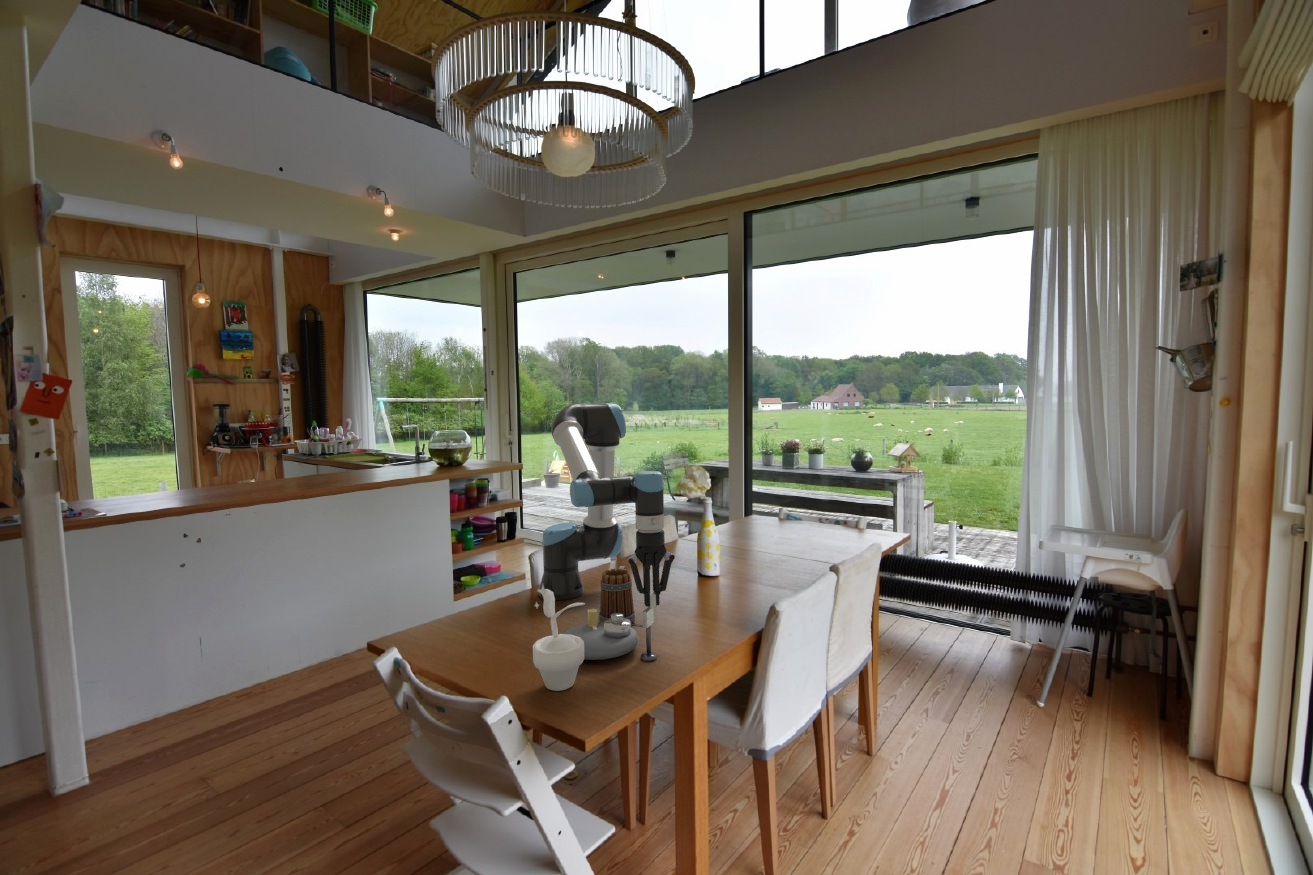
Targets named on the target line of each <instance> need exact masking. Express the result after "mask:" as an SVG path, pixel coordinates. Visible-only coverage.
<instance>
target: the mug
mask: <svg viewBox="0 0 1313 875" xmlns="http://www.w3.org/2000/svg"><path fill="white" fill-rule="evenodd" d="M632 587H633V581H632V578H631V572H630V570H628V569H627V566H626V565H620V566H619V568H610V569H606V570H605V571H602V574H601V580H600V602H599V603H600V604H599V605H600V606H599V612H598V622H605V621H606V620H608V619H611V614H613V613H622V614H623V618H626V619H628V620H630V622H631V624H635V619H636V613H635V610H634V600H633V589H632Z"/></svg>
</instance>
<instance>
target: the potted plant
mask: <svg viewBox="0 0 1313 875" xmlns="http://www.w3.org/2000/svg"><path fill="white" fill-rule="evenodd" d="M536 591H537V592H538V593H539V592H540V593H541V594H542V595H543V598H542V599H543V604H542V608H543V614H544V615H545V616H546V617H547V618H550V622H549V623H550V628H551V634H552V635H547V636H544V637H541V638H539V639H538V640H536V641H535V642H534V643H533V644H532V663H533V665H534V666H535V668H536V669H538V670H539V673H540V675H541V678H542V681H543V683H544V686H545V687H546V689H547V690H551V691H553V692H554V691H555V692H560V691H561V692H562V691H565V690H568V689H569V688H571V687H573V686H574V684H575V682H576V678H577V675H578V672H579V668H580V666H581V665H582V664H583V663H584V660H585V659H584V641H583V640H582V639H581V638H580V637H577V636H574V635H567V634H563V633H558V632H559V631H558V624H557V623H558V622H557V617H559V616H560V615H561V614H562V613H563V612H564V611H565V610H568V609H570V608H573V607H578V606H579V607H580V606H586V603H585V602H574V603H571V604H568V605H567V606H566V607H564V608H562V609H560V610H559V611H557V612H556V602H555V601H556V600H555V597H554V594H553V592H552V591H550V590H548V589H544V586H542V589H541V590H539V589H537V590H536ZM539 606H540V604H538V602H537V601H535V604H534V605H533V607H536V609H538V608H539Z"/></svg>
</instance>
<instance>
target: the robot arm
mask: <svg viewBox="0 0 1313 875" xmlns="http://www.w3.org/2000/svg"><path fill="white" fill-rule="evenodd" d="M626 433H627V424H626V418H625V414H624V411H623V409H622V408H621V406H620V405H619V404H617V403H611V402H608V403H607V402H600V403H597V402H596V403H595V402H594V403H593V402H592V403H573V404H569V405H567V406H565V407H564V408H562V409H560V411H558V413H557V414H556V415H555V417H554V418H553V421H552V424H551V436H552V439H553V441H554V443H555V444H556V445H557V446H559V447H560V450H561V452H562V455H563V457H564V461H565V462H566V466H567V468H568V471H569V472H570V475H571V476H570V477H571V478H572V481H571V482H570V484H569V497H570V502H571V504H572V506H574V507H576V508H584V507H585V508H587V516H586V517H584V518H583V520H582V525H581V526H579V525H578V524H577V523H576V522H571V521H570V522H561V523H560V522H559V523H557V524H552V525H550V526H548V527H547V528H544V530H543V532H542V542H541V543H542V544H541V545H542V556H543V557H542V558H543V559H542V560H543V562H542V563H543V573H542V576H541V581H540V584H539V586H538V590H541V589H542V586H544V589H548V590H550V591H552V592H553V594H554V597H555V601H563V600H565V601H566V600H571V599H575V598H579V597H581V596H582V595H584V593H585V584H584V582H583V580H582V576H581V573H580V571H579V562H581V561H582V562H584V561H592V560H600V559H604V560H605V559H608V558H614V557H616V556H618V555H619V554H620V552H621V551H622V546H623V538H624V537H623V529H622V525H621V523H618V520H617V518H616V517H614V505H622V504H623V505H624V504H634V507H635V511H634V512H635V529H636V530H637V531H635V545H636V546H635V547H636V548H635V549H634V554H632V555H631V556H627V557H626V561H627V563H628V564H629V566H630V568H631V573H632V576H633V579H634V583H635V587H636V590H637V592H639V594H643V604H644V606H645V607H646V608H648V607H653V615H654V620H657V606H660V604H661V603H660V595H661V593H662V592H665V591H666V590H667V586H668V582H669V577H670V571H671V567H672V563H673V562H674V560H675V558H676V557H675V554H673V553H672V552H669V551H667V548H666V544H665V543H666V542H665V541H666V540H665V531H664V530H663V529H665V514H664V513H665V512H664V510H665V508H664V507H665V505H664V504H665V502H664V501H665V500H664V488H665V484H664V477H663V473H662V472H660V471H659V470H658V471H656V470H641V471H637V472H635V474H627V475H625V476H624V475H623V476H615V454H616V452H615V450H616V448H617V447H619V446H620V439H623V438H624V437H625V436H626ZM637 559H638V560H639V561H640V563H641V565H642V568H643V569H642V575H643V579H641V576H640V572H639V569H638V565H637V563H638V560H637ZM663 559H664V561H663ZM662 561H663V566H662V571H661V572H662V573H661V576H660V569H661V568H660V566H661V565H660V564H661V562H662ZM651 567H652V570H651ZM651 571H652V591H651ZM642 582H643V584H642ZM538 595H539V597H540V598H541V599H544V598H543V595H542V594H541V593H540V592H538Z"/></svg>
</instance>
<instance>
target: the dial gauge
mask: <svg viewBox="0 0 1313 875" xmlns="http://www.w3.org/2000/svg"><path fill="white" fill-rule="evenodd" d="M641 619H642V624H637V623H633V624H631V626H633V627H639V628H643V629H645V641H646V642H645V643H646V644H645V645H646V646H645V647H646V650H645V652H642V653H641V654H640V660H641V661H643V662H654V661H657V659H658V655H657V653H656V652H653V651H652V633H651V632H652V628H651V627H652V625H653V624H654V622H655V619H654V615H653V607H646V608H645V609H644V610H642V618H641Z"/></svg>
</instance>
